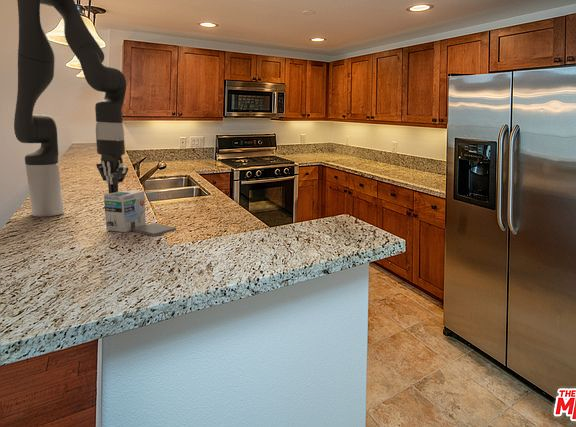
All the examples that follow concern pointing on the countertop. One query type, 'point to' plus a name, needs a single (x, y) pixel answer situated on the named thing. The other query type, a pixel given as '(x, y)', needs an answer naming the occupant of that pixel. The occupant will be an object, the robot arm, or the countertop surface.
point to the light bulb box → (124, 210)
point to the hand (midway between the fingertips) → (113, 195)
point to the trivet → (154, 229)
